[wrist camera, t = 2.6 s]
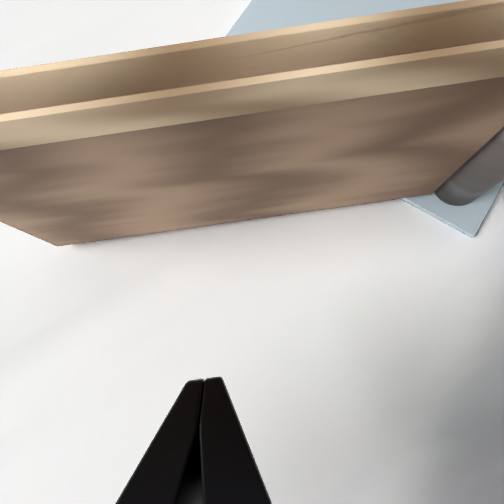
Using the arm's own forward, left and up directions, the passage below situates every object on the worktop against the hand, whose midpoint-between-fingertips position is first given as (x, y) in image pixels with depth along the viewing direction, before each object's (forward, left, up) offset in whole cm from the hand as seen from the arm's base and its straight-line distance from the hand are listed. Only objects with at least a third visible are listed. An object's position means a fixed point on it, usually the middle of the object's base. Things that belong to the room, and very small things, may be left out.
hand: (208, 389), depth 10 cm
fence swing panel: (+7, +2, -9) cm, 12 cm away
